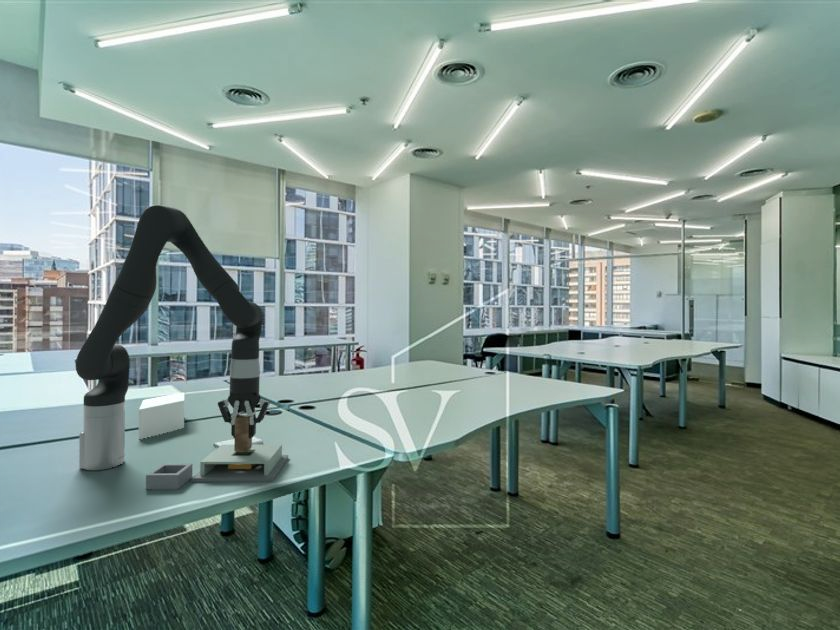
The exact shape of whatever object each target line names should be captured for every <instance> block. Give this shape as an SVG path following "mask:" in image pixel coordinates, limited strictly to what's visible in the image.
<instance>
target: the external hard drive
mask: <svg viewBox="0 0 840 630" xmlns="http://www.w3.org/2000/svg"><path fill="white" fill-rule="evenodd" d="M234 443H235V438H233V439H228V440H223V441H217V442H214V443H213V447H214V446H215V447H214V448H216V447H217V448H218V447H220V446H221V445H234ZM263 443H264V441H263V439H260V438H259V437H256V436H255V435H254V436H253V437H252V445H257V444H263ZM217 448H216V449H217Z"/></svg>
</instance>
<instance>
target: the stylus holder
mask: <svg viewBox="0 0 840 630" xmlns="http://www.w3.org/2000/svg"><path fill="white" fill-rule="evenodd" d="M192 477H193V463H162V464H160V465H158V466H157V467H156V468H155V469H153V470H151V471H150V472H149V473H147V474H146V475H145V490H146V489H149V490H150V489H152V490H179V489H180V488H182V487H183V486H184V485H185V484H186V483H188V482H189V481H190V479H191V480H192Z"/></svg>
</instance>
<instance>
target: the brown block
mask: <svg viewBox="0 0 840 630" xmlns="http://www.w3.org/2000/svg"><path fill="white" fill-rule="evenodd" d="M249 425H250V423H249V418H248V416H247V414H240V416H238V417H236V418H235V438H234V439H235V443H234V451H249V450H250V449H251V448H252V438H249Z"/></svg>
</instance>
